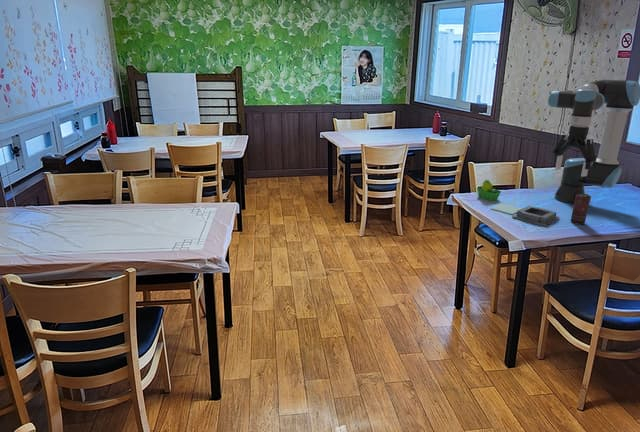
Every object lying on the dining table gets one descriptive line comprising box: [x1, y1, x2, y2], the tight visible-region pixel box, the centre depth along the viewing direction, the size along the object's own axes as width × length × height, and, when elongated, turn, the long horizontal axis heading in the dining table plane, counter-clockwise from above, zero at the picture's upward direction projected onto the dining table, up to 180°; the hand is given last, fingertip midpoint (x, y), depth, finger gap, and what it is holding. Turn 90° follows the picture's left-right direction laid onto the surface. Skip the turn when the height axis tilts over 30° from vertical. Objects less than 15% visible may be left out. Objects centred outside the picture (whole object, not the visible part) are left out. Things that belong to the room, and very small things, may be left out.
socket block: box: [511, 205, 560, 227], centre depth 224 cm, size 16×16×4 cm
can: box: [570, 193, 592, 225], centre depth 217 cm, size 6×6×14 cm
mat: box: [490, 203, 522, 216], centre depth 237 cm, size 12×12×1 cm
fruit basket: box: [476, 179, 502, 202], centre depth 254 cm, size 11×9×11 cm
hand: (570, 172), depth 207 cm, fingers open, 13 cm apart
